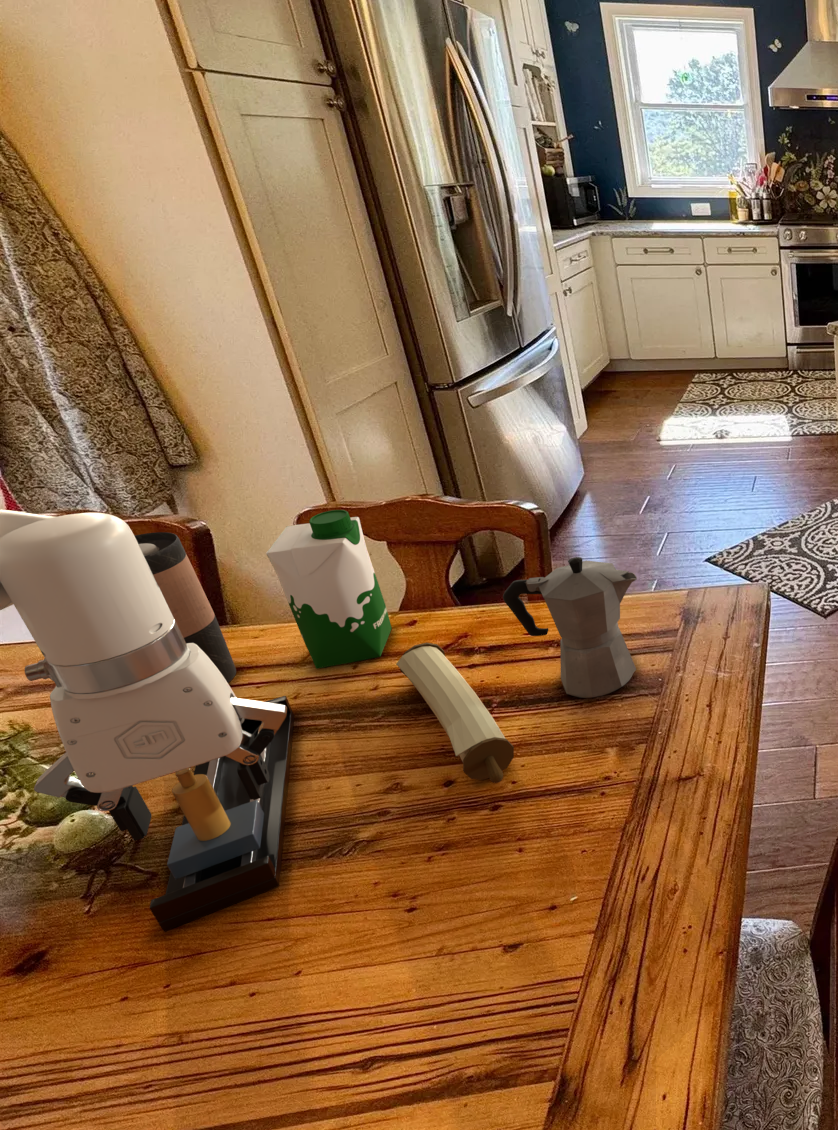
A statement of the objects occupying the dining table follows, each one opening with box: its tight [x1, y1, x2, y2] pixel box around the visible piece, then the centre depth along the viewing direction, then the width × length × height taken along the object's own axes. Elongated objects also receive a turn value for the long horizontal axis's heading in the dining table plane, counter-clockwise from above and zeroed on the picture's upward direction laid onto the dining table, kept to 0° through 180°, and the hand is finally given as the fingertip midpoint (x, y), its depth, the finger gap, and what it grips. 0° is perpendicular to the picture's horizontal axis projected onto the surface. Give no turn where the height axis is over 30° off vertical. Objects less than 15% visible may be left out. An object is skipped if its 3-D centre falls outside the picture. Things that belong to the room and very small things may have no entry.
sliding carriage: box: [166, 767, 264, 879], centre depth 72 cm, size 6×5×10 cm
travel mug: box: [134, 531, 237, 684], centre depth 93 cm, size 8×8×20 cm
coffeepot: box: [502, 556, 638, 699], centre depth 97 cm, size 15×9×18 cm, turn 104°
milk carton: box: [265, 509, 393, 670], centre depth 101 cm, size 9×9×20 cm
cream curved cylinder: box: [395, 642, 515, 784], centre depth 92 cm, size 32×6×5 cm, turn 47°
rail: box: [149, 695, 295, 932], centre depth 80 cm, size 8×28×3 cm, turn 36°
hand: (202, 807), depth 72 cm, fingers open, 7 cm apart
